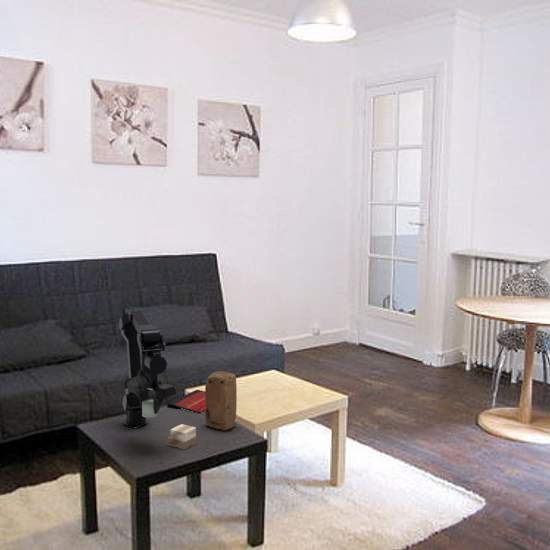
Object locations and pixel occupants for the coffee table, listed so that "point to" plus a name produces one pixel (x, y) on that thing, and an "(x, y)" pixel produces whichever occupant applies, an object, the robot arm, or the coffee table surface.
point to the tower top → (183, 432)
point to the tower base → (181, 442)
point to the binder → (191, 401)
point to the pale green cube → (148, 409)
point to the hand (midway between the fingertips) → (150, 412)
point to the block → (221, 400)
